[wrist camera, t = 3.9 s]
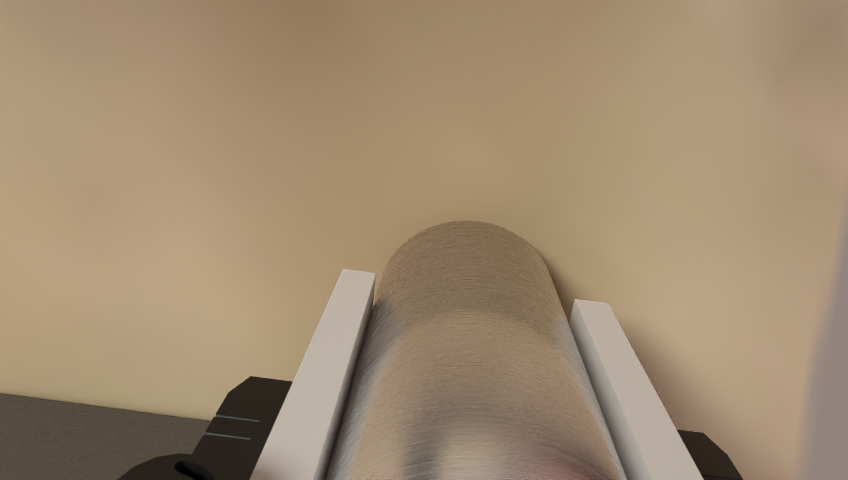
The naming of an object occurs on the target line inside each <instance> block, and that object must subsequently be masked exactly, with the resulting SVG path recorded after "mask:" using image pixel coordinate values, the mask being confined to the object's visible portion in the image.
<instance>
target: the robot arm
mask: <svg viewBox="0 0 848 480" xmlns="http://www.w3.org/2000/svg"><path fill="white" fill-rule="evenodd" d="M375 278H376V273H371V272H363V271H355V270H348V269H343V270H342V272H341V275H340V277H339V279H338V281H337V284H336V286H335V288H334V290H333V293H332V295H331V297H330V299H329V302H328V304H327V306H326V308H325V311H324V313H323V315H322V317H321V320H320V322H319V324H318V326H317V329H316V331H315V333H314V335H313V338H312V340H311V342H310V345H309V347H308V349H307V351H306V354H305V356H304V358H303V360H302V363H301V365H300V367H299V369H298V372H297V374H296V376H295V378H294V381H293V382H291V381H284V380H276V379H268V378H261V377H253V376H250V377H249V378H248V379H246V380H245V381H244V382H242V383H241V384H239V385H238V386H237V387H235V388H234V389H233V390H231V391H230V392H229V393H228V394H227V396H226V398H225V399H224V401H223V403H222V404H221V406H220V408H219V409H218V411H217V413H216V417H214V418H213V419H212V421H211V423H210V424H209V426H208V428H207V429H206V432H205V435H203V436H202V438H201V439H200V441H199V443H198V444H197V446H196V448H195V449H194V451H193V453H192V454H183V453H177V454H171V455H165V456H159V457H155V458H153V459H150V460H148V461H146V462H143V463H141V464H139V465H136V466H134V467H133V468H131V469H130V470H129V471H128V472H126V473H125V474H124V475H122V476H121V477H120V478H118V479H117V480H325V477H326V474H327V470H328V467H329V463H330V459H331V456H332V452H333V449H334V445H335V442H336V438H337V434H338V431H339V427H340V424H341V420H342V417H343V413H344V409H345V406H346V402H347V399H348V395H349V392H350V388H351V384H352V381H353V377H354V374H355V370H356V367H357V363H358V360H359V356H360V352H361V349H362V345H363V342H364V338H365V335H366V331H367V327H368V324H369V320H370V317H371V313H372V309H373V299H374V289H375ZM569 326H570V329H571V331H572V334H573V337H574V339H575V342H576V345H577V347H578V350H579V353H580V355H581V358H582V361H583V363H584V366H585V369H586V371H587V374H588V377H589V379H590V382H591V385H592V387H593V390H594V393H595V395H596V398H597V400H598V403H599V406H600V408H601V411H602V414H603V416H604V419H605V422H606V424H607V427H608V430H609V432H610V435H611V438H612V440H613V443H614V446H615V448H616V451H617V454H618V456H619V459H620V462H621V464H622V467H623V470H624V472H625V475H626V478H627V480H743V479H742V477H741V476H740V474H739V473H738V471H737V469H736V468H735V466H734V465H733V463H732V461H731V460H730V458H729V457H728V455H727V454H726V453H725V452H724V451H722V450H721V449H720V448H719V447H718V446H717V445H716V444H715V443H714V442H713V441H711V440H710V439H709V438H708V437H707V436H706V435H705V434H704V433H699V432H691V431H684V430H676V428H675V426H674V424H673V422H672V420H671V419H670V417H669V415H668V413H667V411H666V409H665V408H664V406H663V404H662V402H661V400H660V398H659V396H658V395H657V393H656V391H655V389H654V387H653V385H652V384H651V382H650V380H649V378H648V376H647V374H646V372H645V371H644V369H643V367H642V365H641V363H640V361H639V360H638V358H637V356H636V354H635V352H634V350H633V349H632V347H631V345H630V343H629V341H628V339H627V337H626V336H625V334H624V332H623V330H622V328H621V326H620V325H619V323H618V321H617V319H616V317H615V315H614V313H613V312H612V310H611V308H610V306H609V304H608V303H603V302H595V301H588V300H580V299H575V300H574V304H573V309H572V313H571V317H570V321H569Z"/></svg>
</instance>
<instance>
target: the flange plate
mask: <svg viewBox="0 0 848 480" xmlns="http://www.w3.org/2000/svg"><path fill="white" fill-rule="evenodd" d="M210 423H211V421H203V420H196V419H188V418H181V417H173V416H165V415H158V414H150V413H143V412H135V411H128V410H120V409H113V408H105V407H98V406H90V405H82V404H75V403H67V402H60V401H52V400H45V399H37V398H30V397H22V396H14V395H7V394H0V480H117V479H118V478H120V477H121V476H122V475H124V474H125V473H126V472H128V471H129V470H130V469H131V468H133V467H134V466H136V465H139V464H141V463H143V462H146V461H148V460H150V459H153V458H155V457H159V456H165V455H171V454H177V453H183V454H192V453H193V451H194V449H195V448H196V446H197V444H198V443H199V441H200V439H201V438H202V436H203V435H205V432H206V429H207V428H208V426H209V424H210Z"/></svg>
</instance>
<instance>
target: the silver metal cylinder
mask: <svg viewBox="0 0 848 480" xmlns="http://www.w3.org/2000/svg"><path fill="white" fill-rule="evenodd" d="M325 480H627V478H626V475H625V472H624V470H623V467H622V464H621V462H620V459H619V456H618V454H617V451H616V448H615V446H614V443H613V440H612V438H611V435H610V432H609V430H608V427H607V424H606V422H605V419H604V416H603V414H602V411H601V408H600V406H599V403H598V400H597V398H596V395H595V393H594V390H593V387H592V385H591V382H590V379H589V377H588V374H587V371H586V369H585V366H584V363H583V361H582V358H581V355H580V353H579V350H578V347H577V345H576V342H575V339H574V337H573V334H572V331H571V329H570V326H569V323H568V321H567V318H566V316H565V313H564V310H563V308H562V305H561V302H560V300H559V297H558V294H557V292H556V289H555V286H554V284H553V281H552V278H551V276H550V273H549V271H548V269H547V267H546V265H545V263H544V261H543V260H542V258H541V257H540V255H539V254H538V253H537V252H536V251H535V250H534V249H533V247H532V246H531V245H529V244H528V243H527V242H526V241H525V240H524V239H522V238H521V237H519V236H517V235H516V234H514V233H513V232H511V231H509V230H506V229H504V228H502V227H499V226H496V225H493V224H489V223H484V222H478V221H454V222H449V223H443V224H440V225H437V226H433V227H431V228H428V229H426V230H424V231H422V232H420V233H418V234H417V235H415V236H414V237H412V238H410V239H409V240H408V241H407V242H406V243H404V244H403V245H402V246H401V247H400V248H399V249H398V250H397V251H396V252H395V254H394V255H393V256H392V258H391V259H390V261H389V262H388V264H387V266H386V268H385V270H384V272H383V275H382V278H381V281H380V284H379V288H378V291H377V295H376V298H375V302H374V305H373V309H372V313H371V317H370V320H369V324H368V327H367V331H366V335H365V338H364V342H363V345H362V349H361V352H360V356H359V360H358V363H357V367H356V370H355V374H354V377H353V381H352V384H351V388H350V392H349V395H348V399H347V402H346V406H345V409H344V413H343V417H342V420H341V424H340V427H339V431H338V434H337V438H336V442H335V445H334V449H333V452H332V456H331V459H330V463H329V467H328V470H327V474H326V477H325Z"/></svg>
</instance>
